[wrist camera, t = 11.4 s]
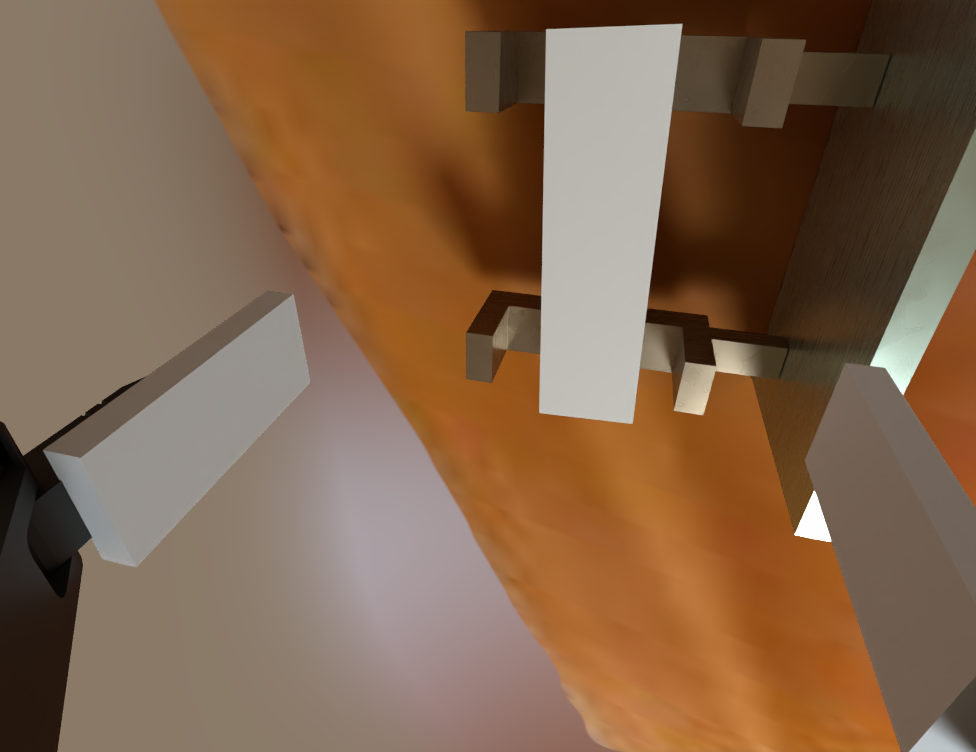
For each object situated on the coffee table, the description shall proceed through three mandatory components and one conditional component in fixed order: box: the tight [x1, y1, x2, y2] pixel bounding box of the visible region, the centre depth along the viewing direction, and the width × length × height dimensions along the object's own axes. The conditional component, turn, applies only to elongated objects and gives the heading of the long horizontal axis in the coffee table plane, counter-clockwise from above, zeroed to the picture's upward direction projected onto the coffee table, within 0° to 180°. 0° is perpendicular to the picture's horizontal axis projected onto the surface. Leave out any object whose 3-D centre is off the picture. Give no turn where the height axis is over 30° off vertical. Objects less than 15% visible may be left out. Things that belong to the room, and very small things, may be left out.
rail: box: [539, 24, 682, 424], centre depth 28 cm, size 18×5×5 cm, turn 2°
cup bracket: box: [465, 0, 976, 541], centre depth 27 cm, size 22×19×14 cm
